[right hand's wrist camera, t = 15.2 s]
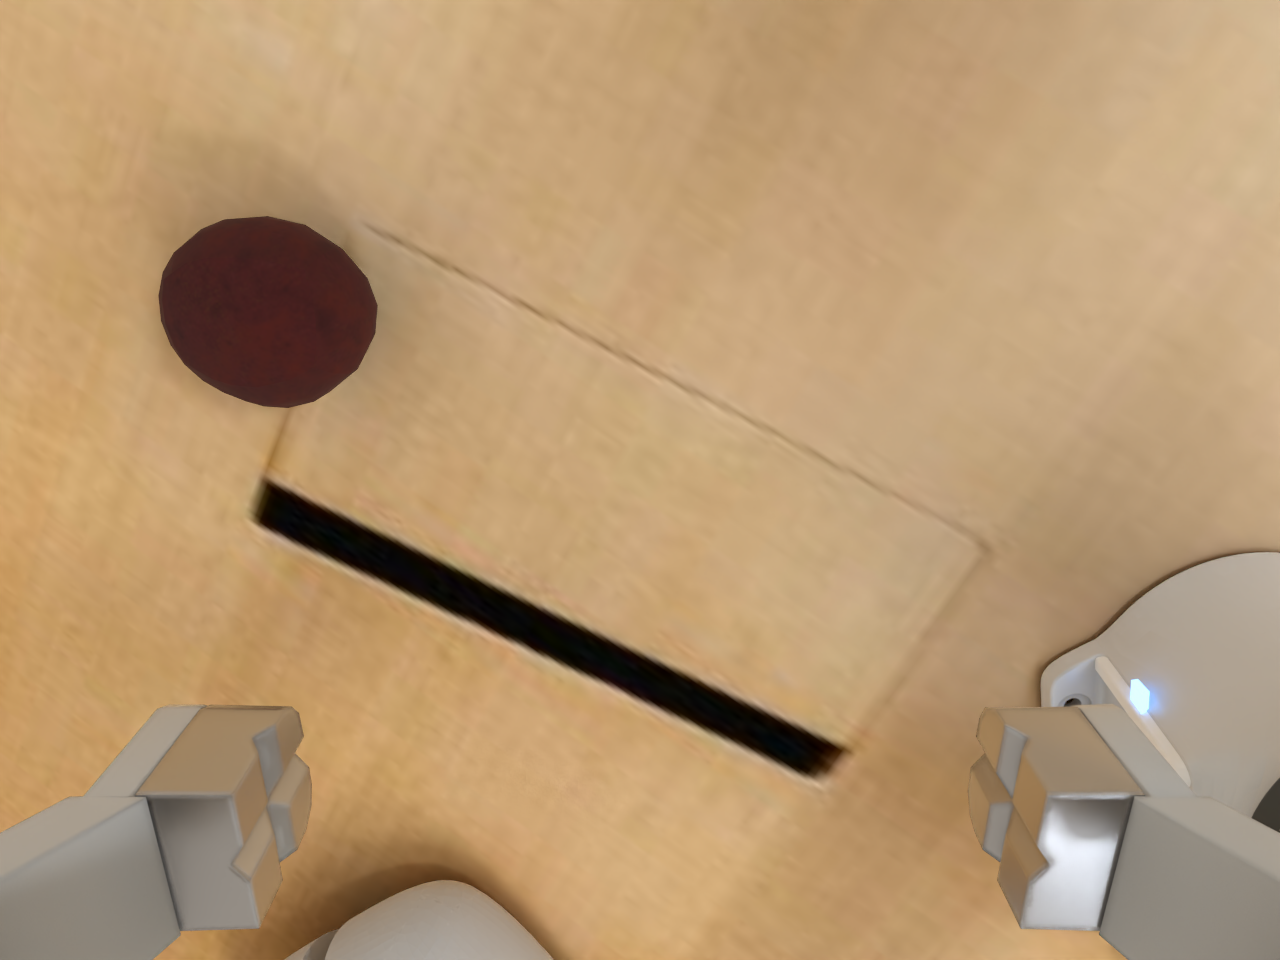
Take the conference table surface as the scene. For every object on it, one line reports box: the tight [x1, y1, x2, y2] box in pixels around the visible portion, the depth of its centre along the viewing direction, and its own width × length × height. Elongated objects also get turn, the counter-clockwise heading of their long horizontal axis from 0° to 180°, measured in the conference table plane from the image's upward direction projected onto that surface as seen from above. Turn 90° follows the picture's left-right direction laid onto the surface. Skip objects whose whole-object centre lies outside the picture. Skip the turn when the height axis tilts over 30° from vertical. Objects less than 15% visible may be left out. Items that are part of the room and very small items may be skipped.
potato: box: [159, 216, 377, 408], centre depth 35 cm, size 7×8×7 cm
